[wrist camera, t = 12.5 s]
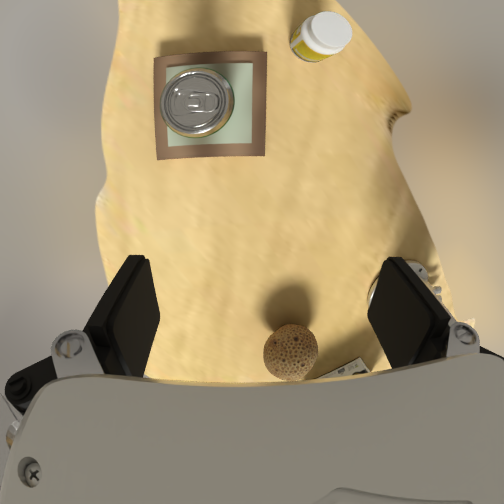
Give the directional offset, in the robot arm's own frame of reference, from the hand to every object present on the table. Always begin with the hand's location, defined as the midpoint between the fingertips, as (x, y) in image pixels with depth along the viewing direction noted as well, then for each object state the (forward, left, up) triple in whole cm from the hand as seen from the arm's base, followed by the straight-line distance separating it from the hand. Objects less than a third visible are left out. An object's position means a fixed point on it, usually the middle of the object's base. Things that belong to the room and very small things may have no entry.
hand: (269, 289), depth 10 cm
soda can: (+4, -7, -22) cm, 23 cm away
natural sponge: (-7, +28, -25) cm, 38 cm away
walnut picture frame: (+4, -7, -25) cm, 26 cm away
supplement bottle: (-7, -15, -25) cm, 30 cm away
